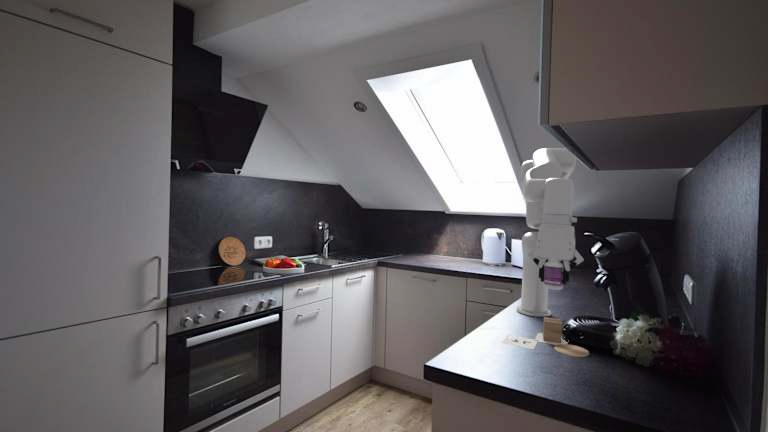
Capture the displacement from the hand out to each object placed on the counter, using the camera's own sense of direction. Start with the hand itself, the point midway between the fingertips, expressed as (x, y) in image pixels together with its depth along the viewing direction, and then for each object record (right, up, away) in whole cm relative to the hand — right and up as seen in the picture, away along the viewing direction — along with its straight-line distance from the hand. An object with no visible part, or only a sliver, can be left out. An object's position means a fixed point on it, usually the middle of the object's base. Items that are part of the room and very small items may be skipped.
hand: (553, 281), depth 113 cm
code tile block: (+3, -19, +7) cm, 21 cm away
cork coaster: (+4, -20, -2) cm, 20 cm away
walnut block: (+3, -19, +7) cm, 21 cm away
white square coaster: (-8, -19, +4) cm, 21 cm away
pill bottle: (0, -2, 0) cm, 2 cm away
